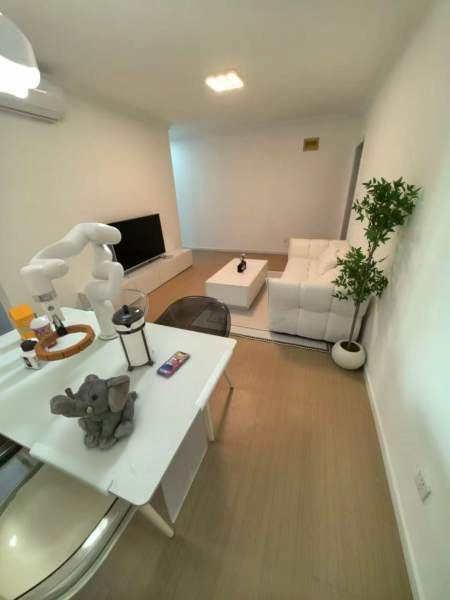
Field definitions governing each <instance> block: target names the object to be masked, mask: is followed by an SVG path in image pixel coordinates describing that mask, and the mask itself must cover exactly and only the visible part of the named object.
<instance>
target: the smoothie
mask: <svg viewBox="0 0 450 600" xmlns="http://www.w3.org/2000/svg"><path fill="white" fill-rule="evenodd" d="M34 315H35V317H36V318H34V319H33V320H32V321H31V323H30V328H31V330H32V331H33V333H34V334H35V336H36V337H37V338H36V339H38V341H39V340H40V339H41V338H43V337H45V336H46V335H48V334H49V333H51V332H54V329H53V327H52V324H51V322H50V321H49V319H48V318H47V317H43V316H38V315H37V313H36V312H34ZM57 341H58V339H56V340H55V341H53V342H52V343H50V344H49V345H48V346H47V348H48V349H49V348H52V347H54V346H56V344H57Z"/></svg>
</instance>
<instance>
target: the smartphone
mask: <svg viewBox="0 0 450 600" xmlns="http://www.w3.org/2000/svg"><path fill="white" fill-rule="evenodd" d="M189 358H190V354H188V353H186V352H183V351H181V350H180V351H176V352H175V353H174V354H172V356H171V357H170V358H169V359H167V360H166V361H165V362H164V363H163V364H162V365H161V366H160V367H158V368H157V373H158V374H161V375H163V376H165V377H171V376H172V375H173V374H174V373H175V372H177V370H178V369H179V368H180V367H181V366H182V365H183V364H184V363H185V362H186V361H187V360H188V359H189Z"/></svg>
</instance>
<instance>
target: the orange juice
mask: <svg viewBox="0 0 450 600" xmlns="http://www.w3.org/2000/svg"><path fill="white" fill-rule="evenodd" d="M7 312H8V315H9V318H10V320H11V322H12V324H13V326H14V327H15V329H16V331H17V333H18V334H19V336H20V337H21V340H23V341H25V340H28V339H31V338H36V339H37V337H36V336H35V334H34V333H33V331H32V330H31V328H30V323H31V321H32V320H33V319H34V318H36V317H35V315H34V313H35V312H34V311H33V310H32V308H31V307H30V306H29V304H28V303H27V302H26V303H23V304H20V305H17V306H15V307H12V308H9V309H7Z"/></svg>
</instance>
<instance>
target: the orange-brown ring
mask: <svg viewBox="0 0 450 600" xmlns="http://www.w3.org/2000/svg"><path fill="white" fill-rule="evenodd" d="M65 329H66V331H67V333H68V334H67V335H64V336H61V337H59V335H58V333H57V331H56V329H55V330H53V332H51V333H49V334H48V335H46V336H45V337H43V338H41V339H40V340H39V341H38V343H37V344H36V345H35V346H34V350H35V353H36V355H37V357H38V359H39V360H43V361H48V362H47V363H49V362H57V361H61V360H65V359H68V358H71V357H73V356H76V355H78V354H80V353H81V352H83V351H85V350H86V349H87V348H88V347H90V346H91V345H93V343H94V341H95V339H96V337H97V336H96V333H95V330H94V329H93V327H92V326H91V325H89V324H83V323H78V324H71V325H68V326H65ZM77 333H78V334H79V333H82V334H86V335H85V336H84V338H83V339H81V340H79V341H78V342H77V343H76V344H72V345H69V346H68V347H66V348H64V349H58V350H53V351H49V352H48V351H44V350H45V348H46V347H47V346H48V345H49V344H50V343H52V342H53V341H55V340H58V339H60V338H62V337H63V338H64V337H66V336H68V335H71V334H77Z"/></svg>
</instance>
